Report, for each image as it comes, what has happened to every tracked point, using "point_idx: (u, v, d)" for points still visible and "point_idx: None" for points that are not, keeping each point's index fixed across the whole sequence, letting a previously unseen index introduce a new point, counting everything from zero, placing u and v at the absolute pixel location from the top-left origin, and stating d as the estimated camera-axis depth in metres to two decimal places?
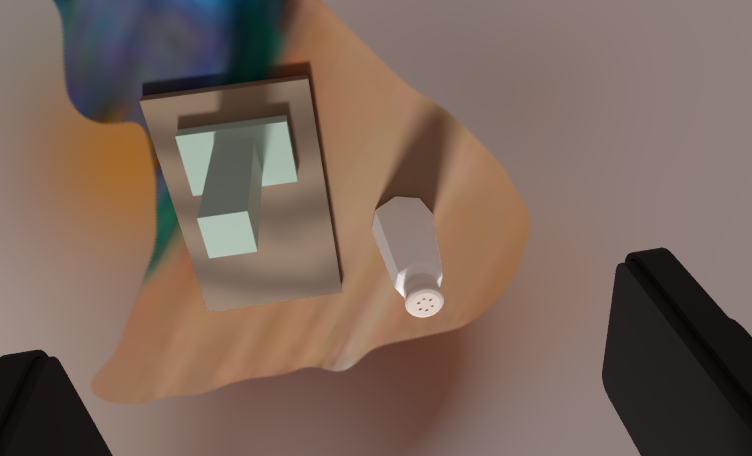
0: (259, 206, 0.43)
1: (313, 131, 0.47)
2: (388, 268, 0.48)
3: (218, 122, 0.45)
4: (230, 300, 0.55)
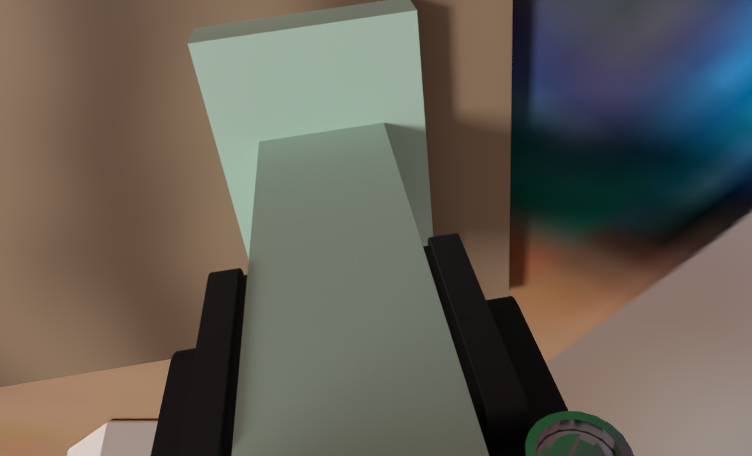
0: None
1: None
2: None
3: None
4: None
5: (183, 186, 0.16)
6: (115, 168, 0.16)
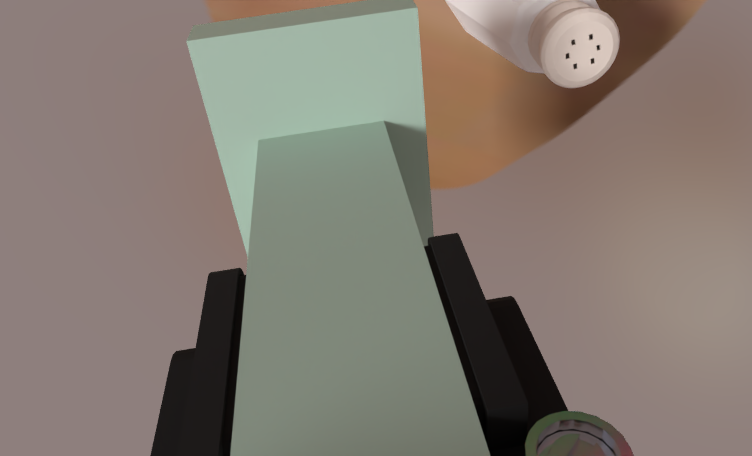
0: None
1: None
2: None
3: None
4: None
5: None
6: None
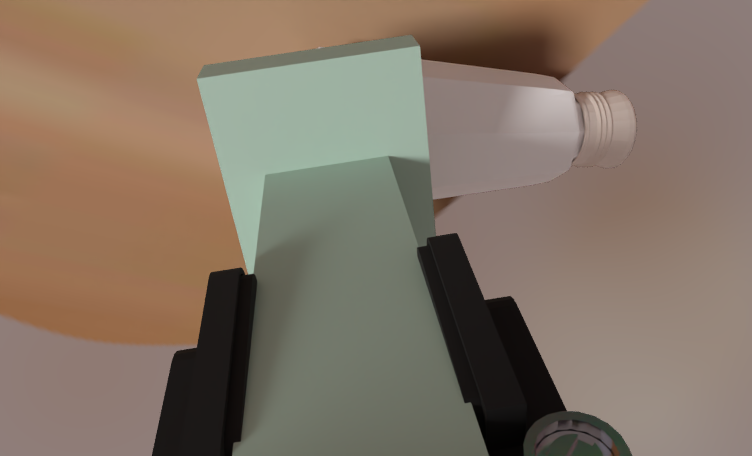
0: None
1: None
2: (510, 82, 0.20)
3: None
4: None
5: None
6: None
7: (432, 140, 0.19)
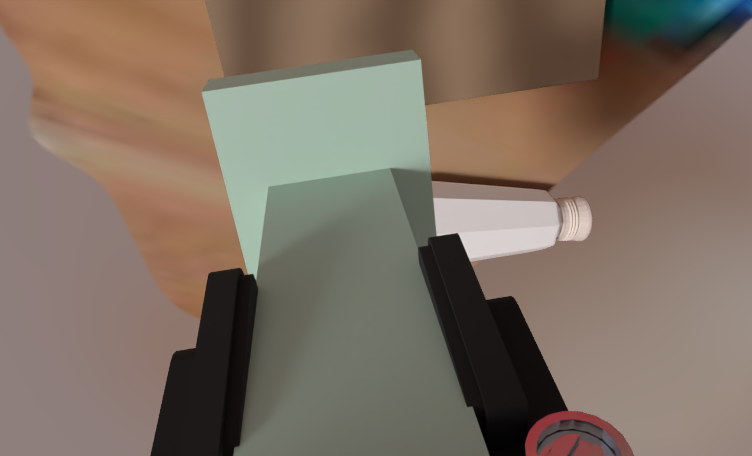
0: None
1: (525, 86, 0.34)
2: (521, 198, 0.36)
3: None
4: None
5: None
6: None
7: (479, 234, 0.35)
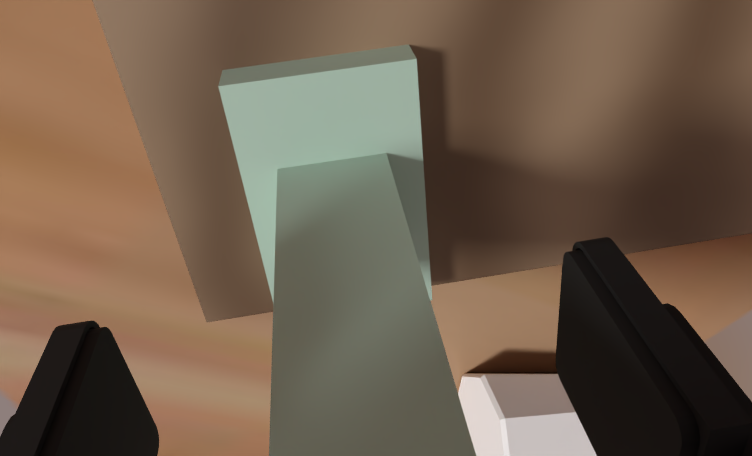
0: None
1: (662, 242, 0.21)
2: None
3: None
4: (142, 27, 0.16)
5: (532, 108, 0.18)
6: (481, 90, 0.18)
7: None
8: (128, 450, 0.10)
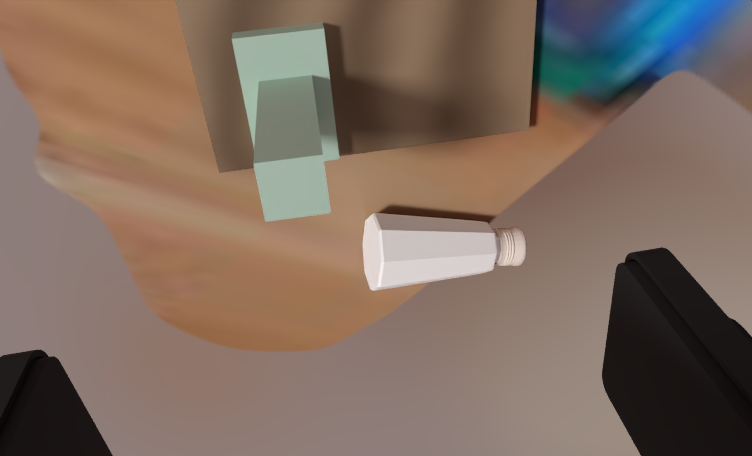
0: None
1: (467, 135, 0.40)
2: (464, 230, 0.42)
3: (495, 26, 0.36)
4: (196, 11, 0.33)
5: (386, 56, 0.36)
6: (359, 46, 0.36)
7: (426, 260, 0.41)
8: None
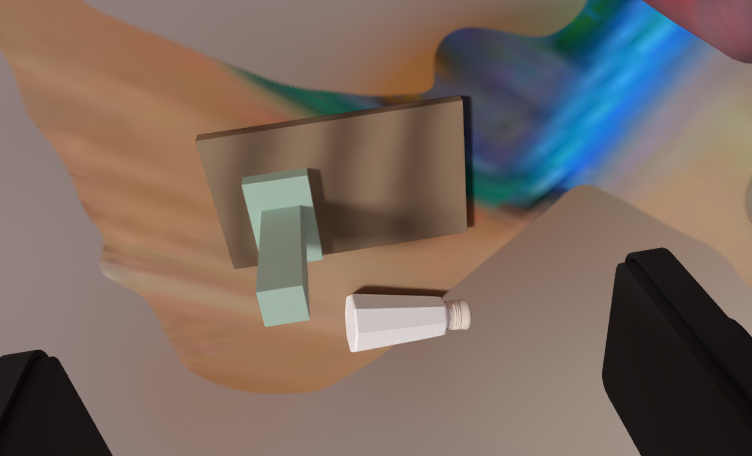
0: None
1: (419, 237, 0.53)
2: (421, 305, 0.55)
3: (435, 164, 0.49)
4: (216, 165, 0.47)
5: (355, 187, 0.49)
6: (334, 182, 0.49)
7: (391, 331, 0.54)
8: None
